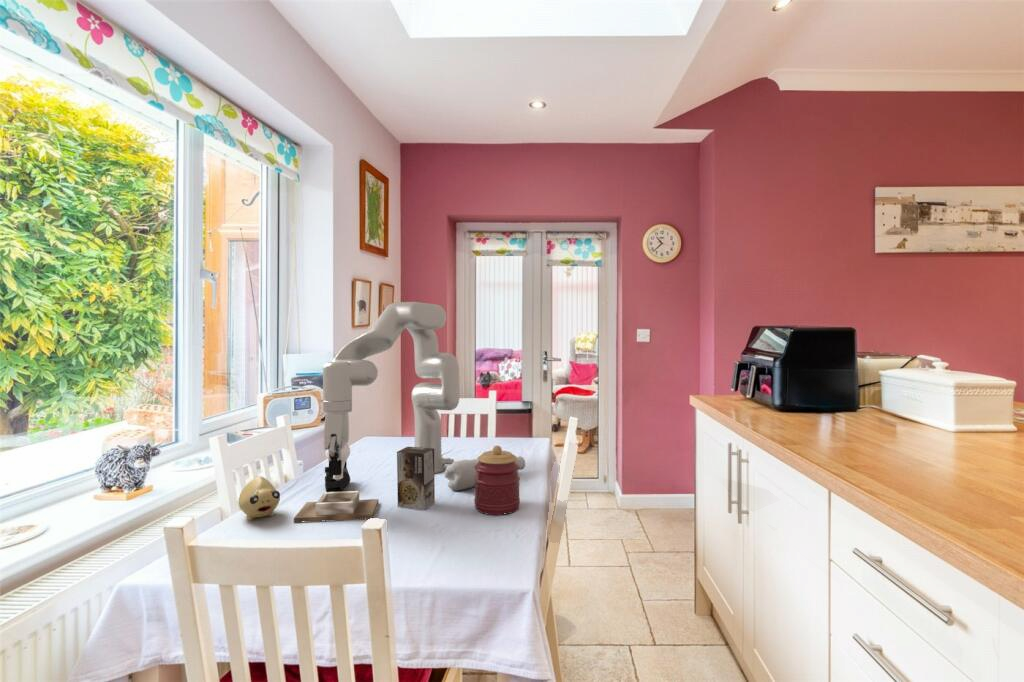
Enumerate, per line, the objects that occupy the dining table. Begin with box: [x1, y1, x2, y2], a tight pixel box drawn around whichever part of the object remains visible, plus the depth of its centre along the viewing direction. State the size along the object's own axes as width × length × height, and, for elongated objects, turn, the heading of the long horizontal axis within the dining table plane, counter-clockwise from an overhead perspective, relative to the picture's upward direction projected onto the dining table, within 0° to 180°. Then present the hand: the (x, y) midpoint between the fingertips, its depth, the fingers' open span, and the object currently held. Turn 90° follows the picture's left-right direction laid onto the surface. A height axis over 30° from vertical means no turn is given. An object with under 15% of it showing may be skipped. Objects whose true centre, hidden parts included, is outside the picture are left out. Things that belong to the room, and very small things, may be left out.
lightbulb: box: [325, 443, 351, 480], centre depth 134 cm, size 6×6×11 cm
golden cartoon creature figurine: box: [238, 476, 281, 521], centre depth 131 cm, size 10×12×11 cm
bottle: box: [444, 456, 526, 492], centre depth 162 cm, size 9×9×30 cm
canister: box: [473, 445, 521, 515], centre depth 138 cm, size 13×13×18 cm
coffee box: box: [396, 446, 436, 511], centre depth 140 cm, size 9×6×16 cm
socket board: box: [293, 490, 380, 523], centre depth 135 cm, size 20×12×4 cm, turn 98°
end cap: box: [324, 466, 351, 492], centre depth 156 cm, size 10×7×7 cm
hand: (337, 470), depth 134 cm, fingers closed on lightbulb, 5 cm apart
